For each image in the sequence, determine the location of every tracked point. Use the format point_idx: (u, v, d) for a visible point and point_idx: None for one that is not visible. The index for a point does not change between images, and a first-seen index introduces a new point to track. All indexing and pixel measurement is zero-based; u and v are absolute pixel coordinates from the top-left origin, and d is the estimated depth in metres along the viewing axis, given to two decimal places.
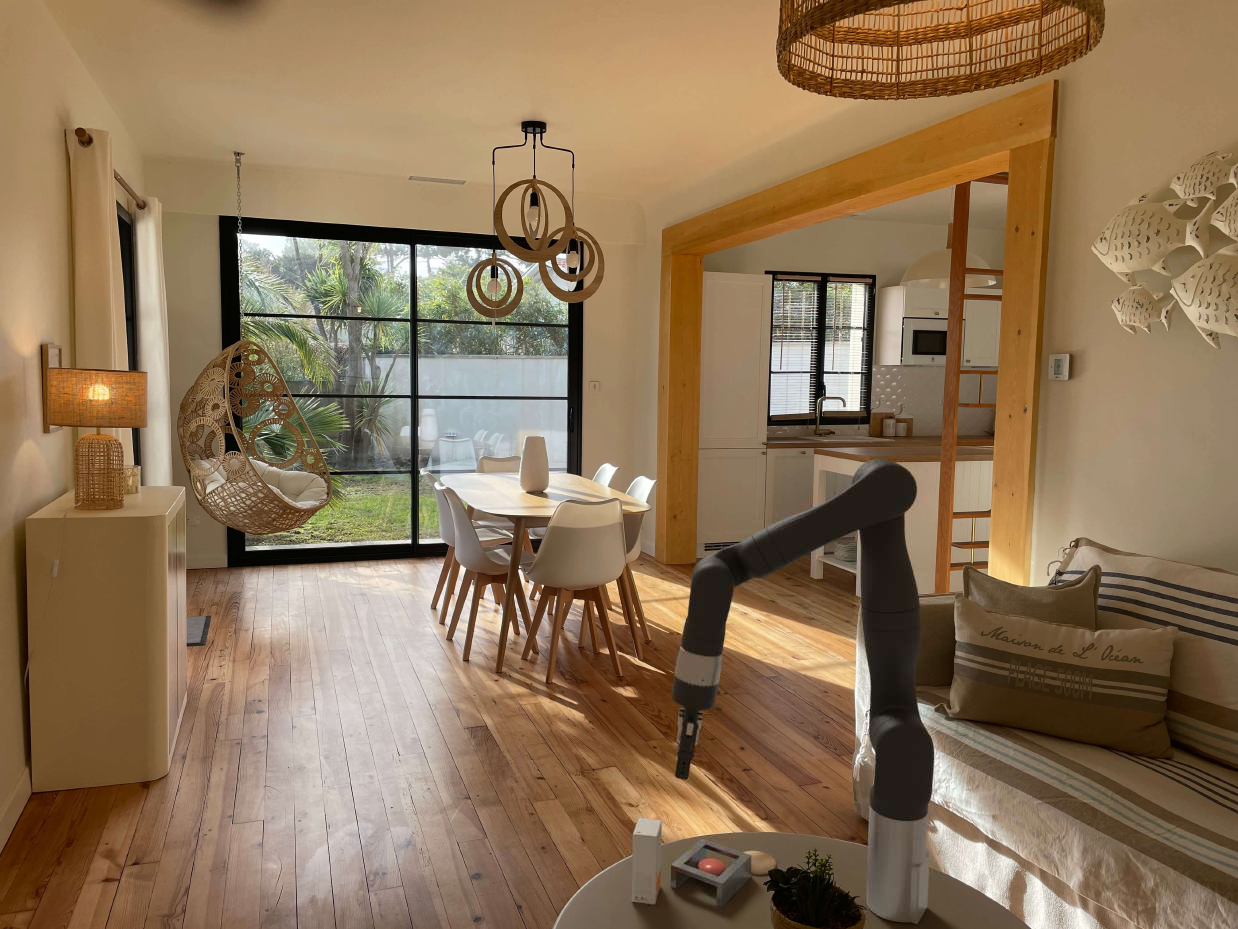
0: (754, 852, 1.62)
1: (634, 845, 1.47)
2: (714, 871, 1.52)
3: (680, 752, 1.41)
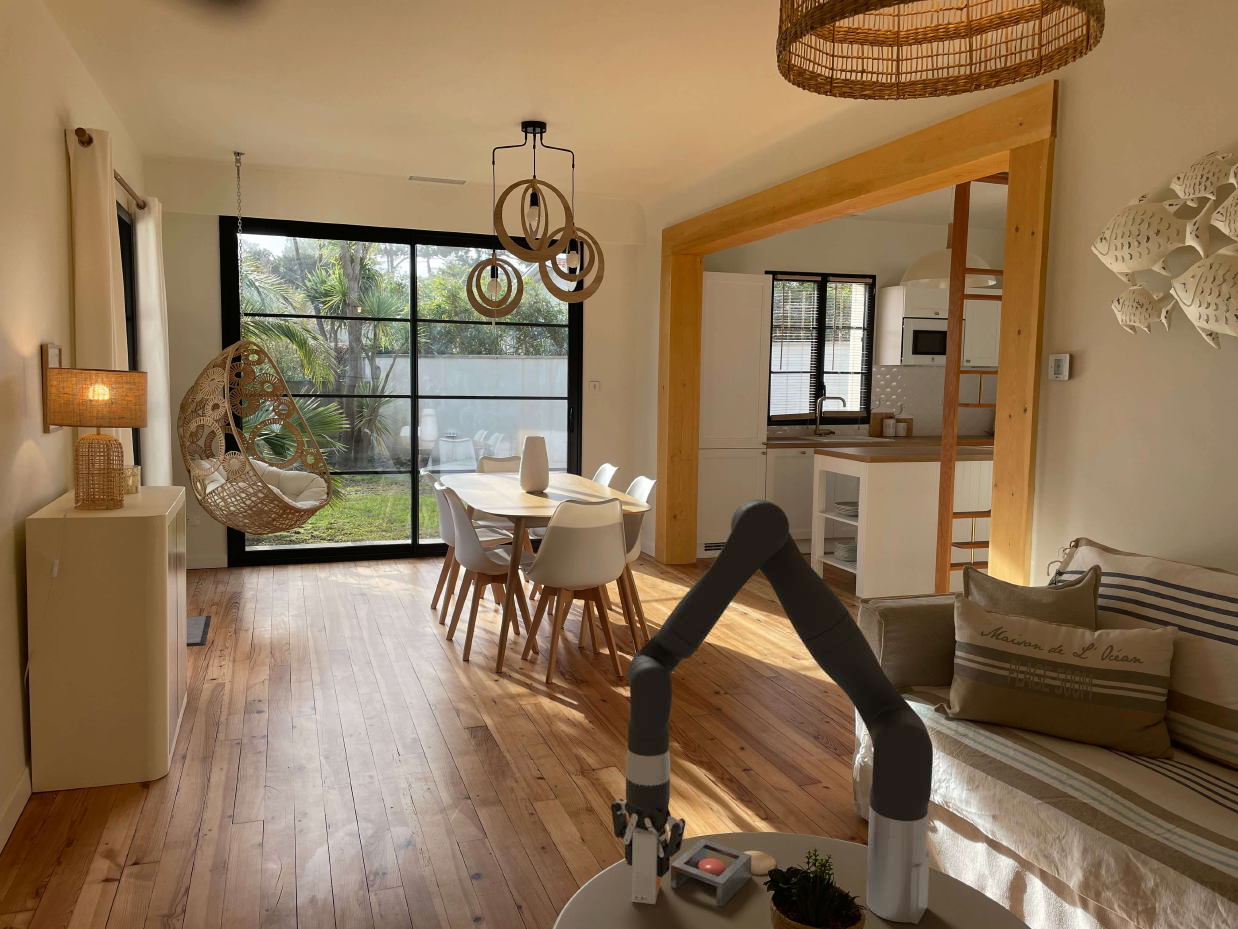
0: (754, 852, 1.62)
1: (634, 845, 1.47)
2: (714, 871, 1.52)
3: None
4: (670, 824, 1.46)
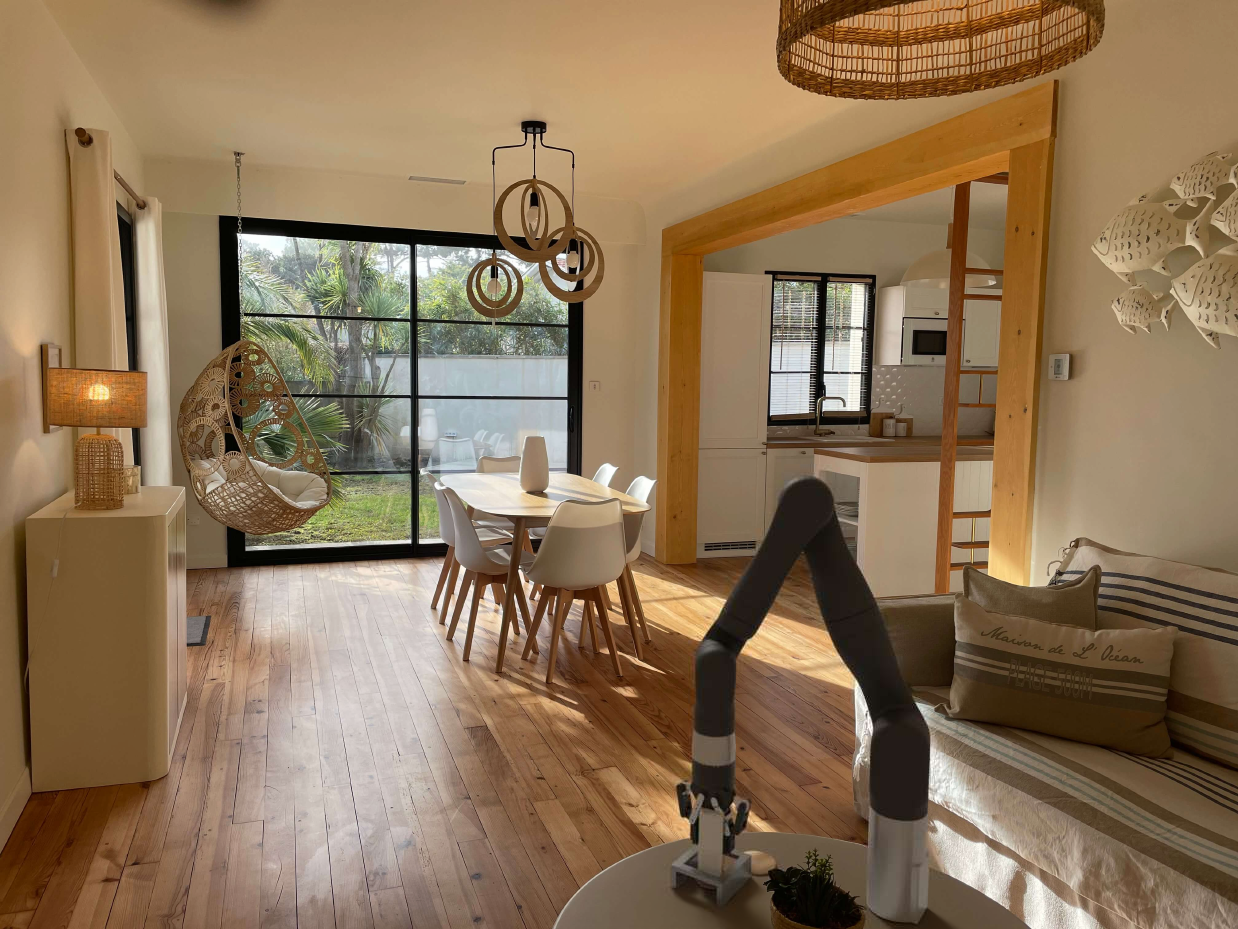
0: (754, 852, 1.62)
1: (701, 824, 1.50)
2: None
3: None
4: (736, 804, 1.49)
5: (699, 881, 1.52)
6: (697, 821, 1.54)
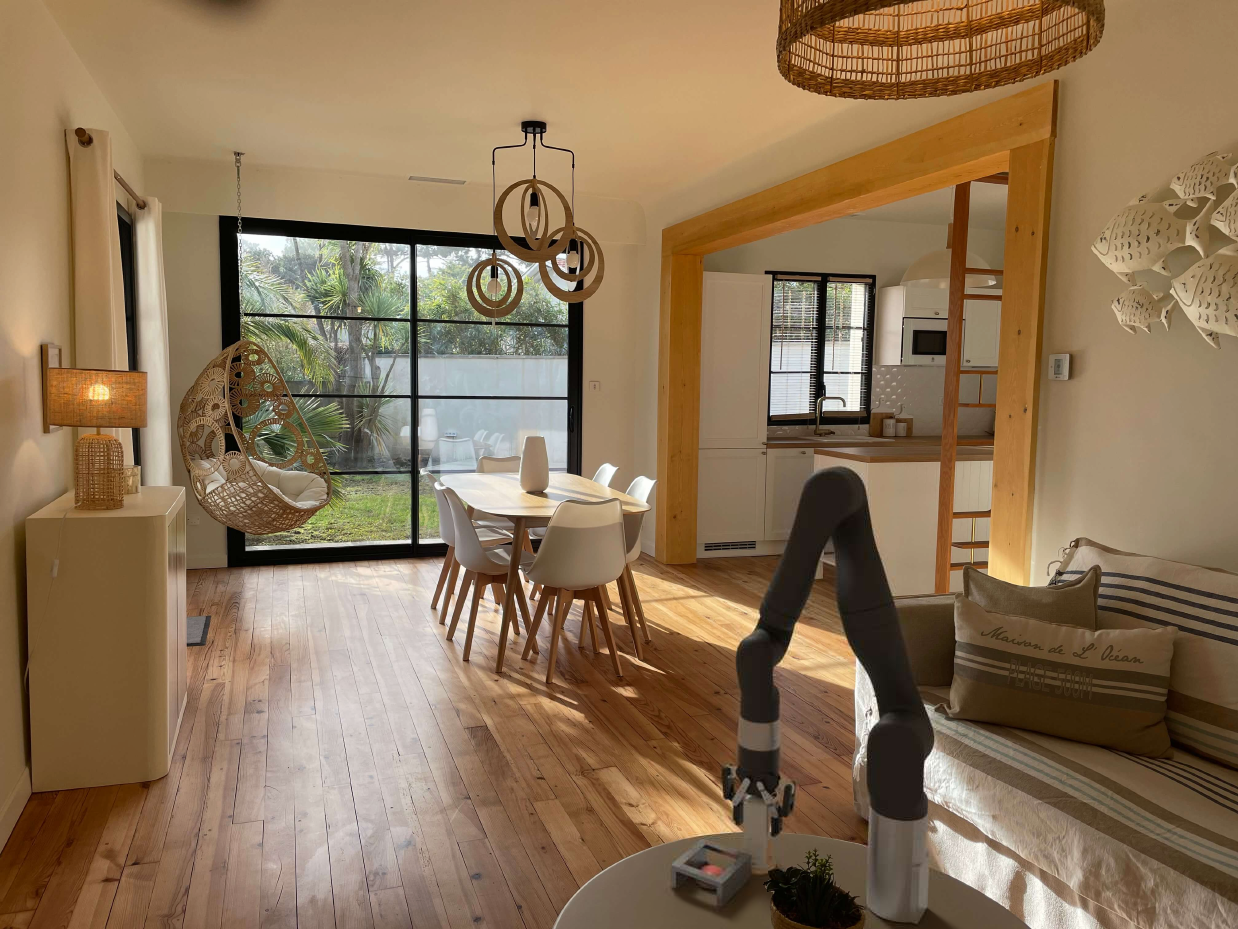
0: None
1: (745, 813, 1.57)
2: None
3: None
4: (782, 786, 1.55)
5: (699, 881, 1.52)
6: (740, 803, 1.60)
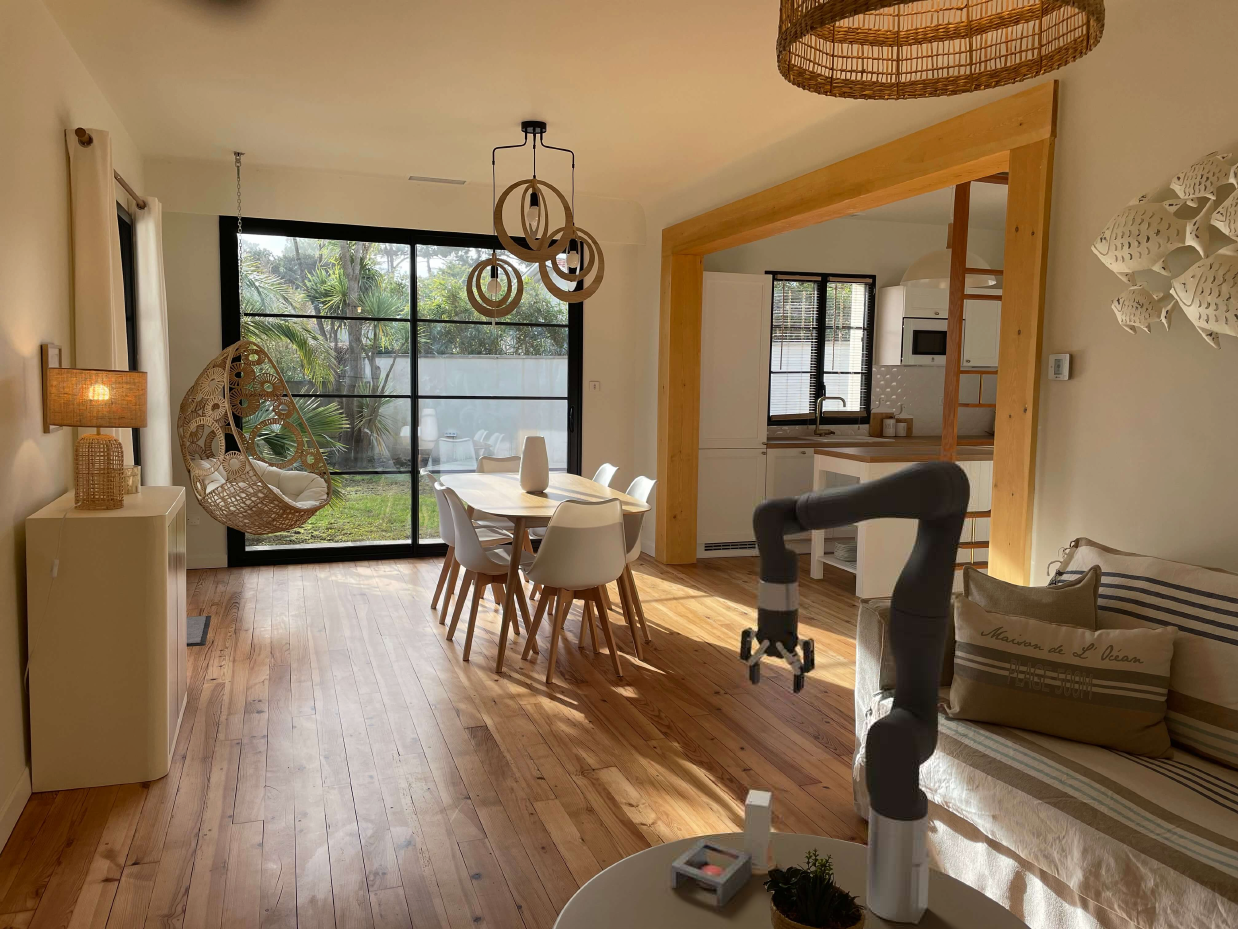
0: None
1: (746, 814, 1.56)
2: None
3: (810, 667, 1.60)
4: (801, 644, 1.61)
5: (699, 881, 1.52)
6: (756, 663, 1.67)
